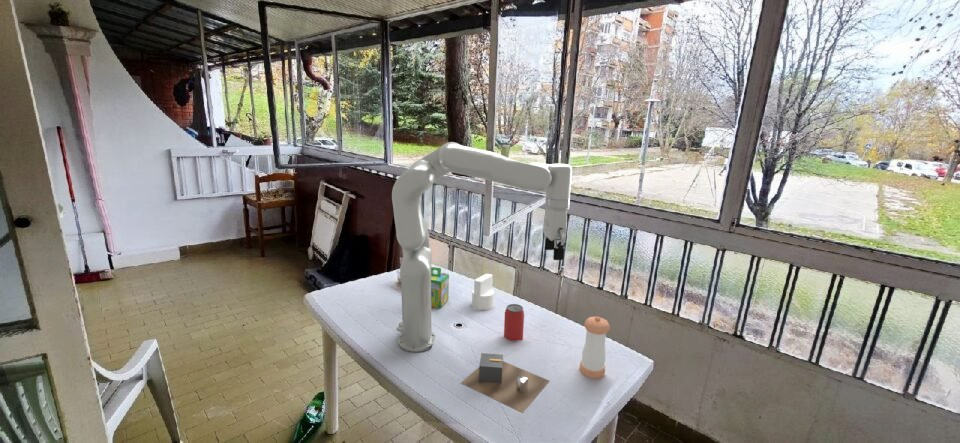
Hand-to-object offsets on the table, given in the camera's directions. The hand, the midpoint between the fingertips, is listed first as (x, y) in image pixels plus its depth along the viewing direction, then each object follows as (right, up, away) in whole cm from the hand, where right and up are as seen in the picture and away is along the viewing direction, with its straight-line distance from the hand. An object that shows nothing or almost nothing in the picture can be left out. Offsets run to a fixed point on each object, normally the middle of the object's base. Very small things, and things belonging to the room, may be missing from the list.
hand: (553, 254), depth 134 cm
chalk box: (-42, -22, +33) cm, 58 cm away
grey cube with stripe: (-21, -34, -15) cm, 42 cm away
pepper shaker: (+9, -35, -11) cm, 38 cm away
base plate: (-17, -36, -17) cm, 43 cm away
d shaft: (-13, -36, -20) cm, 43 cm away
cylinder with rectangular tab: (-23, -23, +32) cm, 46 cm away
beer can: (-13, -30, +7) cm, 33 cm away
